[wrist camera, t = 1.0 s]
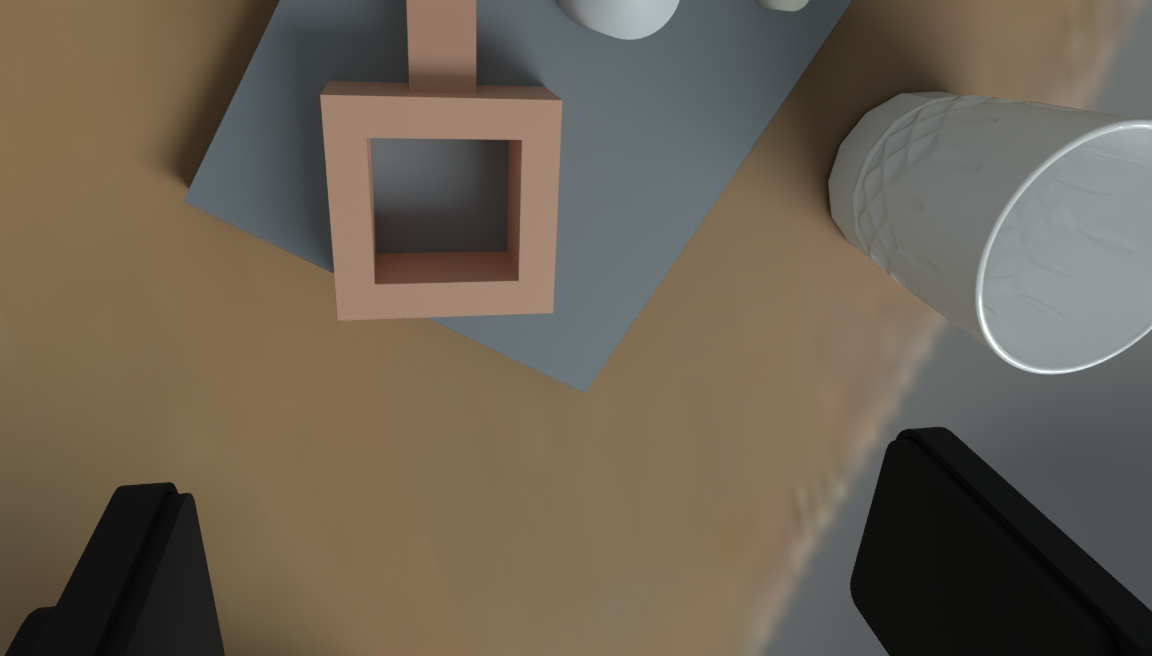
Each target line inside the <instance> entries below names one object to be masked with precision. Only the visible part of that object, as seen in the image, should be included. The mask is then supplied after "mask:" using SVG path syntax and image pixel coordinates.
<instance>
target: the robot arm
mask: <svg viewBox="0 0 1152 656" xmlns="http://www.w3.org/2000/svg"><path fill="white" fill-rule="evenodd" d="M850 590H851V595H852V598H853V601H854V604H855V605H856V607H857V609H858V610H859V612H860V613H861V615H862V616H863V618H864V619H865V620H866V622H867V623H868V625H869V626H870V628H871V629H872V631H873V632H874V634H875V635H876V636H877V638H878V640H879V641H880V642H881V644H882V645H883V647H884V648H885V650H886V651H887V653H888V654H889V656H1152V611H1151V610H1150V609H1148V608H1147V607H1146V606H1145V605H1144V604H1143V603H1142V602H1141V601H1139V600H1138V599H1137V598H1136V597H1135V596H1134V595H1133V594H1132V593H1131V592H1130V591H1128V590H1127V589H1126V588H1125V587H1124V586H1123V585H1122V584H1121V583H1119V582H1118V581H1117V580H1116V579H1115V578H1114V577H1113V576H1112V575H1110V574H1109V573H1108V572H1107V571H1106V570H1105V569H1104V568H1103V567H1102V566H1101V565H1099V564H1098V563H1097V562H1096V561H1095V560H1094V559H1093V558H1091V557H1090V556H1089V555H1088V554H1087V553H1086V552H1085V551H1084V550H1083V549H1082V548H1080V547H1079V546H1078V545H1077V544H1076V543H1075V542H1074V541H1072V539H1070V538H1069V537H1068V536H1067V535H1066V534H1065V533H1064V532H1063V531H1061V530H1060V529H1059V528H1058V527H1057V526H1056V525H1055V524H1054V523H1053V522H1051V521H1050V520H1049V519H1048V518H1047V517H1046V516H1045V515H1044V514H1043V513H1041V512H1040V511H1039V510H1038V509H1037V508H1036V507H1035V506H1033V505H1032V504H1031V503H1030V502H1029V501H1028V500H1027V499H1026V498H1025V497H1023V496H1022V495H1021V494H1020V493H1019V492H1018V491H1017V490H1016V489H1015V488H1014V487H1012V486H1011V485H1010V484H1009V483H1008V482H1007V481H1006V480H1005V479H1003V478H1002V477H1001V476H1000V475H999V474H998V473H997V472H996V471H994V470H993V469H992V468H991V467H990V466H989V465H988V464H987V463H986V462H985V461H983V460H982V459H981V458H980V457H979V456H978V455H977V454H976V453H974V452H973V451H972V450H971V449H970V448H969V447H968V446H967V445H966V444H964V443H963V442H962V441H961V440H960V439H959V438H958V437H957V436H955V435H954V434H953V433H952V432H951V431H949V430H948V429H946V428H943V427H932V428H931V427H930V428H918V429H906V430H903V431H901V432H900V433H899V434H898V436H897V438H896V440H894V441H892V442H890V444H889V445H888V447H887V449H886V453H885V456H884V460H883V463H882V467H881V471H880V474H879V478H878V482H877V486H876V489H875V493H874V496H873V500H872V504H871V507H870V511H869V515H868V518H867V522H866V525H865V529H864V533H863V536H862V540H861V544H860V547H859V551H858V555H857V559H856V562H855V566H854V570H853V573H852V577H851V582H850ZM5 656H225V655H224V648H223V643H222V638H221V633H220V627H219V622H218V617H217V612H216V607H215V602H214V597H213V592H212V587H211V582H210V576H209V571H208V566H207V561H206V556H205V551H204V546H203V541H202V536H201V531H200V526H199V520H198V515H197V510H196V505H195V501H194V498H193V496H192V494H190V493H183V494H178V492H177V489H176V487H175V485H174V484H173V483H171V482H167V483H153V484H139V485H125V486H120V487H118V488H117V489H116V491H115V492H114V494H113V496H112V498H111V500H110V501H109V503H108V505H107V507H106V509H105V511H104V513H103V515H102V517H101V519H100V521H99V523H98V525H97V527H96V529H95V531H94V533H93V535H92V537H91V539H90V541H89V542H88V544H87V546H86V548H85V550H84V552H83V554H82V556H81V558H80V560H79V562H78V564H77V566H76V568H75V570H74V572H73V574H72V576H71V578H70V580H69V582H68V583H67V585H66V587H65V589H64V591H63V593H62V595H61V597H60V599H59V601H58V603H57V605H56V606H54V607H44V608H37V609H36V610H35V611H33V612H32V613H30V614H29V615H28V617H27V618H26V620H25V621H24V622H23V624H22V625H21V627H20V629H19V630H18V632H17V634H16V636H15V638H14V640H13V641H12V643H11V645H10V647H9V649H8V651H7V652H6V654H5Z"/></svg>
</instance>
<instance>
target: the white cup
mask: <svg viewBox="0 0 1152 656" xmlns="http://www.w3.org/2000/svg"><path fill="white" fill-rule="evenodd" d="M828 188H829V198H830V208H831V217H832V219H833V220H834V222H835V223H836V225H837V226H838V228H839V229H840V230H841V232H842V233H843V235H844V236H845V238H846V239H847V241H848V242H849V243H850V244H851V245H852V246H854V247H855V248H856V249H858V250H859V251H861V252H862V253H864V254H865V255H866V256H868V257H869V258H871V259H872V260H874V261H875V262H876V263H877V264H878V265H879V266H880V267H881V268H882V269H883V270H884V271H885V272H886V273H887V274H888V275H890V276H891V277H892V278H894V279H895V280H896V281H898V282H899V283H901V284H902V285H903V286H905V287H906V288H907V289H908V290H909V291H910V292H912V293H913V294H914V295H915V296H917V297H918V298H919V299H921V300H922V301H923V302H925V303H926V304H927V305H929V306H930V307H932V308H933V309H934V310H936V311H937V312H939V313H940V314H941V315H943V316H944V317H945V318H947V319H948V320H950V321H951V322H952V323H954V324H955V325H957V326H958V327H959V328H961V329H962V330H963V331H965V332H966V333H968V334H969V335H970V336H972V337H973V338H975V339H976V340H977V341H979V342H980V343H982V344H983V345H984V346H985V347H987V348H988V349H989V350H991V351H992V352H994V353H995V354H996V355H998V356H999V357H1000V358H1002V359H1003V360H1004V361H1006V362H1007V363H1009V364H1011V365H1013V366H1015V367H1017V368H1019V369H1022V370H1025V371H1029V372H1033V373H1039V374H1062V373H1068V372H1074V371H1078V370H1082V369H1085V368H1088V367H1091V366H1094V365H1096V364H1099V363H1101V362H1103V361H1105V360H1107V359H1109V358H1111V357H1113V356H1115V355H1117V354H1119V353H1120V352H1122V351H1123V350H1125V349H1127V348H1128V347H1130V346H1131V345H1132V344H1134V343H1135V342H1137V341H1138V340H1139V339H1141V338H1142V337H1143V336H1144V335H1145V334H1146V333H1148V332H1149V331H1150V330H1151V329H1152V120H1149V119H1142V118H1135V117H1128V116H1121V115H1114V114H1108V113H1101V112H1095V111H1089V110H1082V109H1076V108H1069V107H1063V106H1056V105H1050V104H1044V103H1037V102H1027V101H1019V100H1009V99H1001V98H995V97H987V96H976V95H957V94H951V93H945V92H939V91H932V92H915V93H901V94H899V95H897V96H895V97H893V98H891V99H890V100H888V101H886V102H884V103H883V104H881V105H879V106H877V107H875V108H874V109H872V110H870V111H868V112H867V113H865V115H864V116H863V117H862V118H861V120H860V121H859V122H858V123H857V124H856V126H855V127H854V128H853V129H852V131H851V132H850V133H849V134H848V136H847V137H846V138H845V139H844V141H843V142H842V143H841V144H840V147H839V150H838V153H837V156H836V159H835V162H834V165H833V168H832V171H831V174H830V177H829V180H828Z"/></svg>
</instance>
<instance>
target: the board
mask: <svg viewBox="0 0 1152 656" xmlns="http://www.w3.org/2000/svg"><path fill="white" fill-rule="evenodd" d="M851 2H852V0H476V85H503V86H541V87H546V88H548V89H549V90H550V91H551V92H553V93H554V94H555V95H556V96H558V97H559V98H560V99H561V100H562V120H561V144H560V167H559V190H558V213H557V236H556V259H555V282H554V305H553V313H540V314H512V315H483V316H454V317H426V318H428V319H430V320H432V321H434V322H437V323H439V324H441V325H443V326H445V327H447V328H449V329H451V330H453V331H455V332H457V333H460V334H462V335H464V336H466V337H468V338H470V339H472V340H474V341H476V342H478V343H481V344H483V345H485V346H487V347H489V348H491V349H493V350H495V351H497V352H499V353H501V354H504V355H506V356H508V357H510V358H512V359H514V360H516V361H518V362H520V363H522V364H524V365H527V366H529V367H531V368H533V369H535V370H537V371H539V372H541V373H543V374H545V375H547V376H550V377H552V378H554V379H556V380H558V381H560V382H562V383H564V384H566V385H568V386H571V387H573V388H575V389H577V390H579V391H581V392H583V393H585V392H586V391H587V389H588V388H589V386H590V385H591V383H592V382H593V381H594V379H595V378H596V376H597V375H598V373H599V372H600V370H601V369H602V367H603V366H604V364H605V363H606V361H607V360H608V359H609V357H610V356H611V354H612V353H613V351H614V350H615V348H616V347H617V345H618V344H619V342H620V341H621V339H622V338H623V336H624V335H625V334H626V332H627V331H628V329H629V328H630V326H631V325H632V323H633V322H634V320H635V319H636V317H637V316H638V314H639V313H640V312H641V310H642V309H643V307H644V306H645V304H646V303H647V301H648V300H649V298H650V297H651V295H652V294H653V292H654V291H655V290H656V288H657V287H658V285H659V284H660V282H661V281H662V279H663V278H664V276H665V275H666V273H667V272H668V270H669V269H670V268H671V266H672V265H673V263H674V262H675V260H676V259H677V257H678V256H679V254H680V253H681V251H682V250H683V248H684V247H685V245H686V244H687V243H688V241H689V240H690V238H691V237H692V235H693V234H694V232H695V231H696V229H697V228H698V226H699V225H700V223H701V222H702V221H703V219H704V218H705V216H706V215H707V213H708V212H709V210H710V209H711V207H712V206H713V204H714V203H715V201H716V200H717V199H718V197H719V196H720V194H721V193H722V191H723V190H724V188H725V187H726V185H727V184H728V182H729V181H730V179H731V178H732V177H733V175H734V174H735V172H736V171H737V169H738V168H739V166H740V165H741V163H742V162H743V160H744V159H745V157H746V156H747V155H748V153H749V152H750V150H751V149H752V147H753V146H754V144H755V143H756V141H757V140H758V138H759V137H760V135H761V134H762V132H763V131H764V130H765V128H766V127H767V125H768V124H769V122H770V121H771V119H772V118H773V116H774V115H775V113H776V112H777V110H778V109H779V108H780V106H781V105H782V103H783V102H784V100H785V99H786V97H787V96H788V94H789V93H790V91H791V90H792V88H793V87H794V86H795V84H796V83H797V81H798V80H799V78H800V77H801V75H802V74H803V72H804V71H805V69H806V68H807V66H808V65H809V64H810V62H811V61H812V59H813V58H814V56H815V55H816V53H817V52H818V50H819V49H820V47H821V46H822V44H823V43H824V41H825V40H826V39H827V37H828V36H829V34H830V33H831V31H832V30H833V28H834V27H835V25H836V24H837V22H838V21H839V19H840V18H841V17H842V15H843V14H844V12H845V11H846V9H847V8H848V6H849V5H850V3H851ZM328 81H351V82H389V83H409V80H408V51H407V22H406V0H280V1H279V3H278V5H277V7H276V9H275V11H274V13H273V16H272V18H271V20H270V22H269V24H268V26H267V28H266V30H265V32H264V34H263V36H262V38H261V40H260V43H259V45H258V47H257V49H256V51H255V53H254V55H253V57H252V59H251V61H250V63H249V65H248V68H247V70H246V72H245V74H244V76H243V78H242V80H241V82H240V84H239V86H238V88H237V90H236V92H235V95H234V97H233V99H232V101H231V103H230V105H229V107H228V109H227V111H226V113H225V115H224V117H223V120H222V122H221V124H220V126H219V128H218V130H217V132H216V134H215V136H214V138H213V140H212V142H211V144H210V147H209V149H208V151H207V153H206V155H205V157H204V159H203V161H202V163H201V165H200V167H199V169H198V172H197V174H196V176H195V178H194V180H193V182H192V184H191V186H190V188H189V190H188V192H187V194H186V196H185V199H184V201H183V202H185V203H188V204H190V205H192V206H194V207H196V208H198V209H200V210H202V211H204V212H206V213H208V214H211V215H213V216H215V217H217V218H219V219H221V220H223V221H225V222H227V223H229V224H231V225H234V226H236V227H238V228H240V229H242V230H244V231H246V232H248V233H250V234H252V235H254V236H257V237H259V238H261V239H263V240H265V241H267V242H269V243H271V244H273V245H275V246H278V247H280V248H282V249H284V250H286V251H288V252H290V253H292V254H294V255H296V256H298V257H301V258H303V259H305V260H307V261H309V262H311V263H313V264H315V265H317V266H319V267H321V268H324V269H326V270H328V271H330V272H332V273H334V262H333V249H332V237H331V224H330V211H329V199H328V186H327V174H326V161H325V148H324V136H323V123H322V111H321V98H320V94H321V93H322V91H323V89H324V87H325V86H326V84H327V82H328ZM370 142H371V160H372V178H373V196H374V214H375V232H376V250H377V254H384V253H440V252H495V251H507V229H508V169H509V140H488V139H404V138H370Z"/></svg>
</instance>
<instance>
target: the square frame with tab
mask: <svg viewBox="0 0 1152 656" xmlns="http://www.w3.org/2000/svg"><path fill="white" fill-rule="evenodd" d="M406 22H407V51H408V80H409V83H389V82H351V81H328V82H327V84H326V86H325V87H324V89H323V91H322V93H321V94H320V98H321V111H322V123H323V136H324V148H325V161H326V174H327V186H328V199H329V211H330V224H331V237H332V249H333V262H334V274H335V287H336V300H337V312H338V321H340V320H369V319H397V318H426V317H454V316H483V315H512V314H540V313H553V305H554V282H555V259H556V236H557V213H558V190H559V167H560V144H561V120H562V100H561V99H560V98H559V97H558V96H556V95H555V94H554V93H553V92H551V91H550V90H549V89H548V88H546V87H541V86H503V85H476V0H406ZM370 138H404V139H488V140H509V169H508V229H507V251H495V252H440V253H384V254H377V250H376V232H375V214H374V196H373V178H372V160H371V142H370Z"/></svg>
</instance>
